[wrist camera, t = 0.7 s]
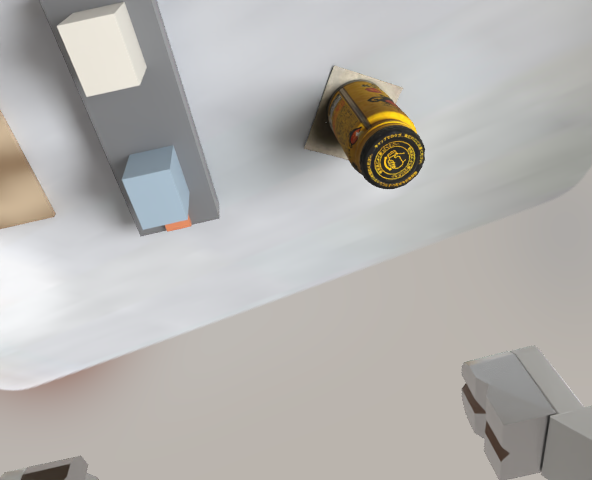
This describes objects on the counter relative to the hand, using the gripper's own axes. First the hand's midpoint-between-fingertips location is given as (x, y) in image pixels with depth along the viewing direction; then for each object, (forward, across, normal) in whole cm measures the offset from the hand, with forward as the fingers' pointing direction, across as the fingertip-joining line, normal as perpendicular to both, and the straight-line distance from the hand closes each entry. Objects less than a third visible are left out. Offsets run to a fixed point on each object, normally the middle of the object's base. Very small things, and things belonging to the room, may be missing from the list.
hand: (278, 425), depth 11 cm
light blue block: (+39, +9, +9) cm, 41 cm away
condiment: (+40, -10, +9) cm, 43 cm away
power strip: (+40, +9, +4) cm, 41 cm away
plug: (+39, +9, -3) cm, 40 cm away
